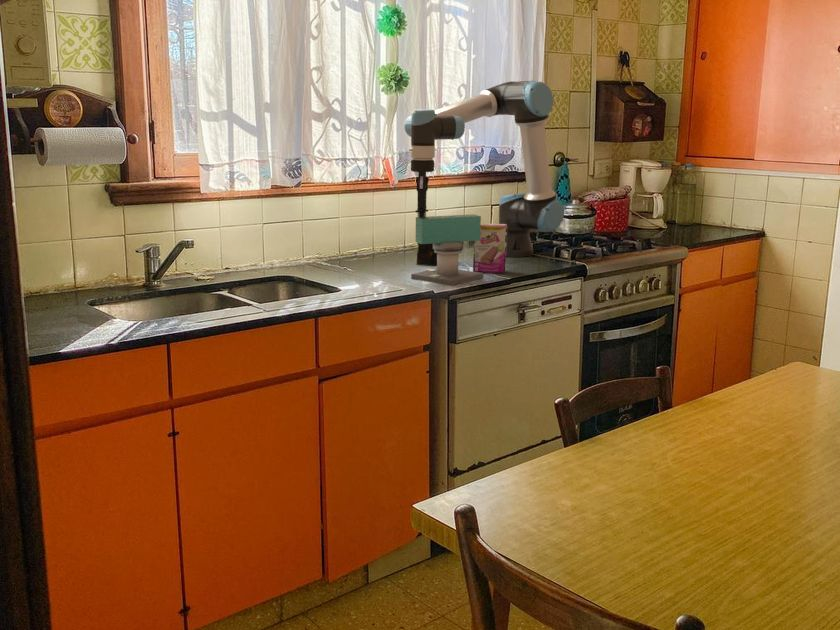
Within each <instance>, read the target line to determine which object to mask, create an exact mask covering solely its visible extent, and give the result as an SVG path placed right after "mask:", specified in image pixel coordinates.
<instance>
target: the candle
mask: <svg viewBox="0 0 840 630" xmlns="http://www.w3.org/2000/svg"><path fill="white" fill-rule="evenodd" d="M417 245H418V246H417V253H416V265H422V266H432V267H437V253H435V252H434V249H433V243H432V244H420V243H417Z"/></svg>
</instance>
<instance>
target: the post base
mask: <svg viewBox="0 0 840 630" xmlns="http://www.w3.org/2000/svg"><path fill="white" fill-rule="evenodd" d="M434 252H435V253H437V266H436V267H435V268H426V269H425V270H424V271H419V272H414V273H411V275H410V277H411V278H410V279H412V280H418V281H425V282H430V283H436V284H440V285H446V286H451V287H453V286H456V285H457V286H458V285H460V284H461V285H462V284H464V283H468V282H469V283H470V282H472V281H476V280H480V279H483V278H484V272H473V270H466V269H459V254H462V252H463V251H462V250H460V251H438V250H434Z"/></svg>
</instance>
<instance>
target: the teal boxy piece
mask: <svg viewBox="0 0 840 630" xmlns="http://www.w3.org/2000/svg"><path fill="white" fill-rule="evenodd" d="M481 222H482V217H481V215H477V214H473V213H472V214H456V215H455V214H454V215H453V214H451V215H433V216H430V215H429V216H426V217H418V216H416V217H415V243H417V244H418V243H420V244H432V243H433V249H434V250H438V251H460V250H463V251H464V243H465V242H474V241H480V229H481Z"/></svg>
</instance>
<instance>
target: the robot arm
mask: <svg viewBox="0 0 840 630" xmlns="http://www.w3.org/2000/svg"><path fill="white" fill-rule="evenodd" d="M553 106H554V95H553V92H552V89H551V88H550V86H548V84H546V83H545V82H543V81H538V80H537V81H536V80H525V81H524V80H523V81H519V80H518V81H506V82H502V83H500V84H498V85H494V86H492V87H489V88H486V89H483V90H481V91H480V92H479V94H477V95H475V96H473V97H469V98H466V99H462V100H460V101H457V102H454V103H452V104H448V105H445V106H443V107H440V108H437V109H413V110H412V112H411V115H409V116H408V117H407V118H406V119H405V120H404V131H405V134H407V136H408V137H410V141H411V142H410V148H409V149H408V151H410V157H411V160H410V171H411V172H413V173H418V176H416V177H415V183H416V191H417V209H415V213H417V217H427V212H429V209H427V207H428V206H427V194H428V193H427V192H428V190H429V189H428V187H429V180H430V178H429V176H427V173H433V172H434V171H435V159H434V158H435V157H436V156H435V153H436V152H435V151H436V147H435V144H436V143H435V142H436V140H441V141H442V140H459V139H460V138H462V137H463V135H464V134H465V131H466V129H465V128H466V127H465V126H466V124H465V123H469V122H472V121H474V120H478V119H480V118H482V117H483V118H484V117H487V118H491V117H494V116H514V123H515V124H516V125H517V126H518V127H519V128H520V129H519V130H520V138H521V139H520V140H521V147H522V156H523V157H522V158H523V164H524V172H525V173H524V174H525V181H526V182H525V184H526V193H524V192H523V193H514V194H513V193H512V194H503V195H501V196H500V199H499V204H498V208H499V209H498V224H507V245H506V257H508V258H510V257H512V258H515V257H516V258H519V257H520V258H521V257H530V256H533V255H534V248H533V244H532V240H531V237H530V230H533V231H538V232H543V233H544V232H545V233H546V232H548V233H550V232H553V231H556V230H557V229H559V227H560V226H561V223H562V222H563V220H564V217H565V207H564V204H563V203H562V202H561V201H560V200H557V194H556V192H555V191H554V190H553V188H552V186H551V175H550V166H549V157H548V155H549V154H548V146H547V138H546V136H547V135H546V127H545V124H546V122H547V120H548V119H549V114H550V113H551V111H553Z"/></svg>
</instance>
